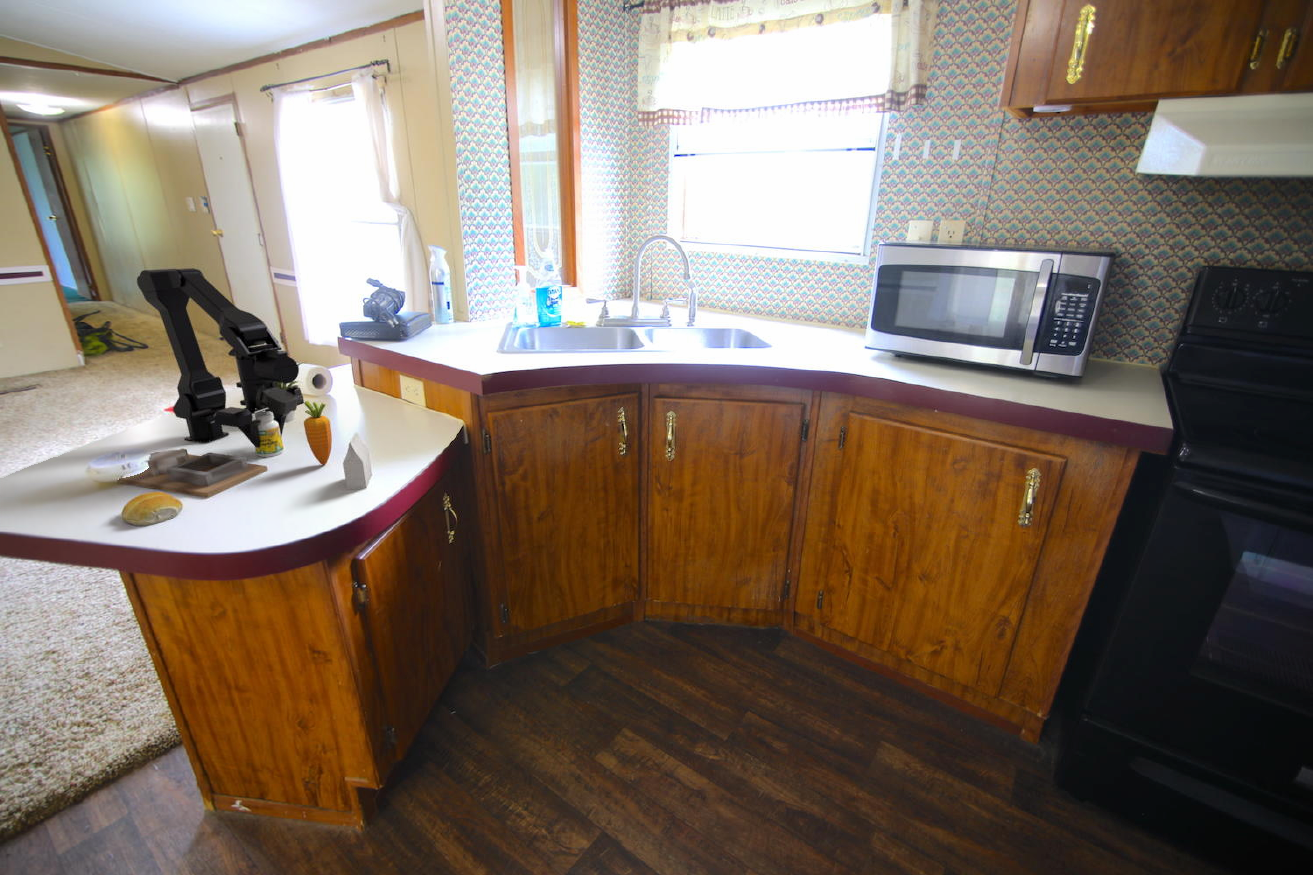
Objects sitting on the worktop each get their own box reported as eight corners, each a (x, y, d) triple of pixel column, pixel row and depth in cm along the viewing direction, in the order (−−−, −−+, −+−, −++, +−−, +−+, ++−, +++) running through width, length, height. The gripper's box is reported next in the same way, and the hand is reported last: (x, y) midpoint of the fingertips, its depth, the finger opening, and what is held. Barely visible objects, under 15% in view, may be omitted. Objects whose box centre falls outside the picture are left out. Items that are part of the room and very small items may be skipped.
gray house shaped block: (372, 475, 128) (366, 431, 125) (366, 488, 122) (360, 443, 119) (353, 476, 127) (346, 432, 124) (346, 489, 121) (340, 444, 118)
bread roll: (169, 500, 114) (164, 482, 112) (190, 514, 109) (185, 494, 108) (115, 516, 107) (109, 497, 106) (134, 531, 103) (128, 511, 101)
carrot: (341, 463, 133) (331, 399, 128) (323, 471, 129) (312, 405, 123) (324, 459, 135) (314, 396, 129) (305, 467, 130) (294, 402, 125)
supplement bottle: (283, 447, 140) (276, 408, 137) (284, 455, 136) (277, 415, 133) (256, 451, 137) (248, 412, 134) (256, 459, 133) (248, 418, 130)
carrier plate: (118, 482, 119) (112, 464, 118) (184, 457, 132) (180, 440, 131) (208, 497, 115) (203, 479, 114) (267, 470, 128) (264, 453, 126)
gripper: (250, 392, 120) (264, 462, 126) (318, 371, 137) (328, 433, 143) (204, 386, 122) (220, 455, 128) (277, 366, 139) (289, 428, 145)
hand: (268, 442), depth 136 cm, fingers closed on supplement bottle, 5 cm apart
